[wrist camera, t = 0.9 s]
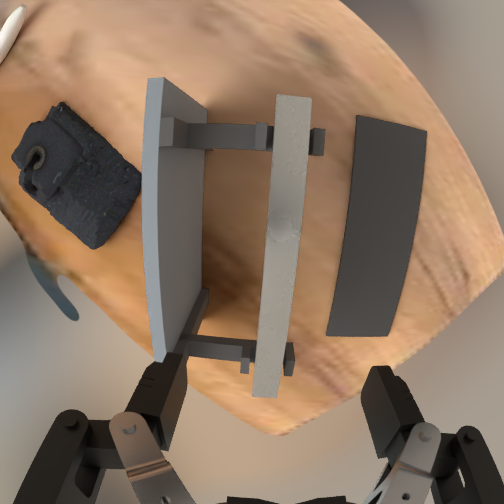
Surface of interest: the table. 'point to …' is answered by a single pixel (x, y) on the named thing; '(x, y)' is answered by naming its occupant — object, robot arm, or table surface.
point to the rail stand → (188, 220)
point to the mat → (378, 227)
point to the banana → (11, 30)
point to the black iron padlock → (76, 175)
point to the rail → (281, 238)
